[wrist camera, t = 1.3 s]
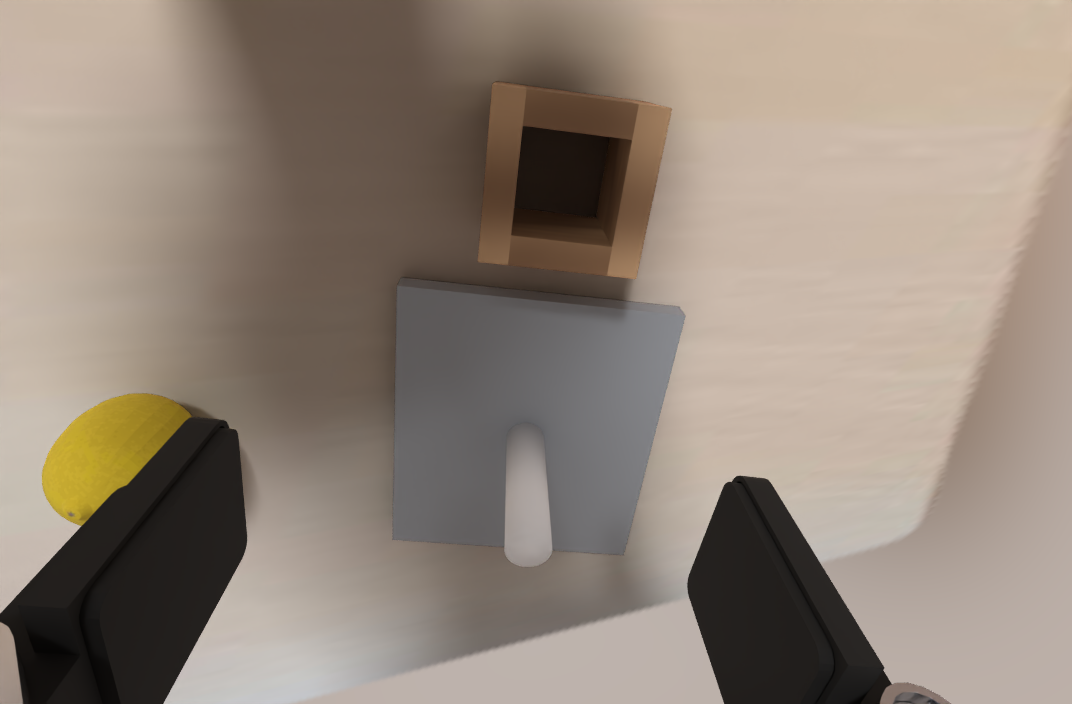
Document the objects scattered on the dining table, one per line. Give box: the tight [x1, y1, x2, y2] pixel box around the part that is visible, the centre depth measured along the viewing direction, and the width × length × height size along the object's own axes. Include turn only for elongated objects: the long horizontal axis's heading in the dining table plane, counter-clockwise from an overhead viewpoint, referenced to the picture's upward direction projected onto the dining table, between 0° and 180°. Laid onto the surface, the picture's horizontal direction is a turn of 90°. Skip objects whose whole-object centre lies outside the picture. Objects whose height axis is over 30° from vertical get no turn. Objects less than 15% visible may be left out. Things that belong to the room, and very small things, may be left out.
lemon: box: [42, 394, 192, 526], centre depth 27 cm, size 6×6×8 cm
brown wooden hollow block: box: [478, 81, 672, 279], centre depth 24 cm, size 6×6×5 cm
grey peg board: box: [393, 277, 685, 567], centre depth 28 cm, size 16×14×9 cm
